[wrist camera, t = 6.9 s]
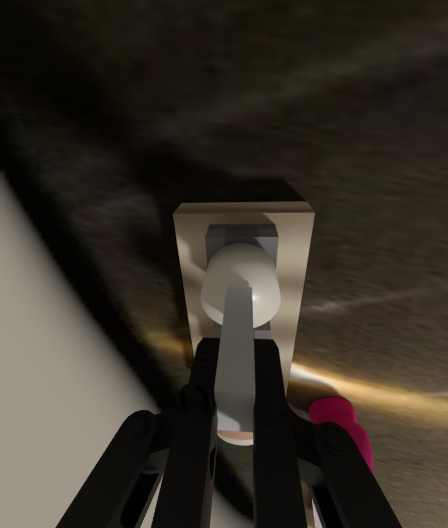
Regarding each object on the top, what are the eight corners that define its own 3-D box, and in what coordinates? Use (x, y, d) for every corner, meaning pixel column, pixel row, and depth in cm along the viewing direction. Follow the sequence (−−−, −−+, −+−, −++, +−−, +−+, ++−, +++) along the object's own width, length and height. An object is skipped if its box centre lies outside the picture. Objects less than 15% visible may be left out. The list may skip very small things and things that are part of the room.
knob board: (181, 203, 22) (163, 225, 17) (306, 201, 21) (324, 224, 16) (203, 376, 34) (196, 417, 30) (282, 380, 33) (287, 423, 29)
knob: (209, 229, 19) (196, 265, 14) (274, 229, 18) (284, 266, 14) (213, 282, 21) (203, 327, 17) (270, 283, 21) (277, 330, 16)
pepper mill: (297, 415, 37) (340, 664, 20) (317, 389, 34) (390, 667, 17) (341, 425, 38) (420, 678, 21) (366, 400, 34) (487, 683, 17)
